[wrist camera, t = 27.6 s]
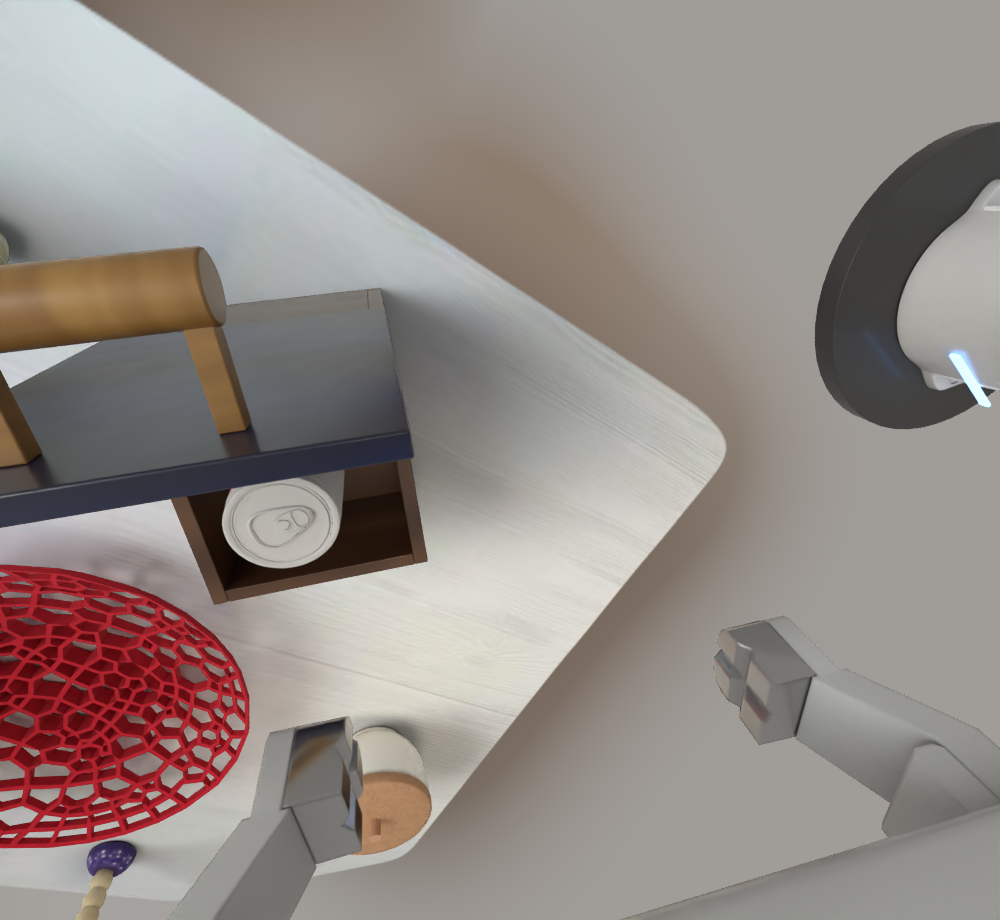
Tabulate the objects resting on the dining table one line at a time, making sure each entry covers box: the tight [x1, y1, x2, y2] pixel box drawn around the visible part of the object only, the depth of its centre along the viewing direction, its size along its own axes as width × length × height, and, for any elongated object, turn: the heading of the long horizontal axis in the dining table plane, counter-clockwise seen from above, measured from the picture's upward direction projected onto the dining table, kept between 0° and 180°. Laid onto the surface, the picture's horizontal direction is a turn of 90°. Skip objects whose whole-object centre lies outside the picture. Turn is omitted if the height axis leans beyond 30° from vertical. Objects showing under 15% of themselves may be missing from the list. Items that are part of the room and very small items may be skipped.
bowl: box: [0, 565, 249, 848], centre depth 43 cm, size 29×29×5 cm
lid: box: [0, 246, 414, 528], centre depth 19 cm, size 18×14×5 cm
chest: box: [171, 288, 428, 604], centre depth 36 cm, size 17×14×10 cm
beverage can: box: [222, 470, 345, 568], centre depth 33 cm, size 6×6×15 cm
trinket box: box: [349, 727, 432, 855], centre depth 53 cm, size 11×11×9 cm
